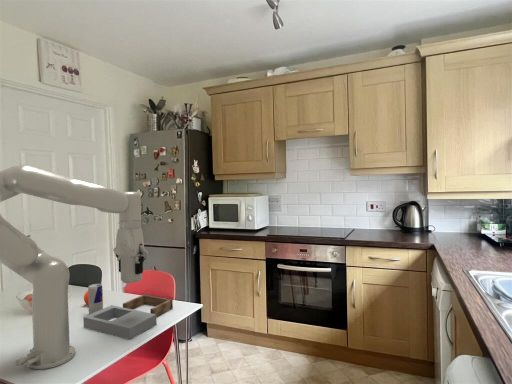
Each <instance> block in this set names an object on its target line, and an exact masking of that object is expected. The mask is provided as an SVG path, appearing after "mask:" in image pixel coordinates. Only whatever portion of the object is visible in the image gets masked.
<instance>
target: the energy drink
mask: <svg viewBox="0 0 512 384" xmlns="http://www.w3.org/2000/svg"><path fill="white" fill-rule="evenodd" d="M87 291H88V302H89V305H88V315H90V314H92V313H94V312H97V311H99V310H101V309H104V299H103V298H104V295H103V285H102V283H93V284H89V285H88V287H87Z"/></svg>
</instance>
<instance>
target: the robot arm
mask: <svg viewBox="0 0 512 384" xmlns="http://www.w3.org/2000/svg"><path fill="white" fill-rule="evenodd" d="M20 194H24V195H29V196H32V197H36V198H41V199H46V200H48V201H52V202H53V201H54V202H57V203H60V204H66V205H72V206H83V207H88V208H93V209H96V210H98V211H100V212H102V213H107V214H110V213H111V214H118V217H119V218H118V219H119V222H118V225H119V227H118V228H117V232H116V238H115V247H114V248H113V253H114V254H115V255H114V256H115V257H116V258H117V259H116V260H117V262H118V273H121V254H127V255H128V256H129V257H135V260H136V264H135V274H140V273H142V274H143V272H144V262H145V260H146V259H147V257H148V255H149V251H148V250H147V249H146V248H145V241H144V232H143V229H142V210H141V209H142V205H141V204H142V203H141V202H142V201H141V200H142V199H141V198H142V197H141V194H140V192H138V191H120V190H117V189H114V188H109V187H107V186H102V185H100V184H99V185H98V184H95V183H92V182H87V181H84V180H81V179H78V178H74V177H71V176H67V175H63V174H60V173H57V172H54V171H51V170H47V169H43V168H40V167H37V166H33V165H28V164H20V165H14V166H11V167H9V168H6V169H3V170H1V171H0V203H2V202H4V201H6V200H9V199H11V198H13V197H15V196H17V195H20ZM138 252H139V253H140V254H138ZM138 256H140V259H139V258H138ZM0 263H1V264H2V265H4V266H5V267H7V268H8V269H9V270H11V271H12V272H14V273H15V274H17V275H19V276H20V277H21V278H23V279H24V280H26V281H27V282H29V283H31V284H32V293H31V294H32V296H31V313H32V338H33V339H32V340H33V341H32V342H33V343H32V345H33V348H30V349H29V353H28V354H27V355H26V356H24V357H23V356H22V357H21V358H18V359H17V360H16V361H15V365H16V366H17V367H18V368H20V367H22V366H23V365H26V366H28V367H29V368H30V369H34V370H45V369H51V368H54V367H57V366H60V365H63V364H65V363H67V362H69V361H70V360H72V358H74V356H75V355H76V348H75V346H73V345H71V344H70V322H69V321H70V318H69V284H70V283H69V282H70V271H69V267H68V266H67V264H66V263H65V262H64V261H63V260H61V258H57V257H55V256H52V255H49V254H48V253H47V252H46V251H44V250H43V249H41V248H40V247H39V246H38V245H37V243H36V241H34V240H33V239H32V238H31V237H29V236H27V235H26V234H24V233H23V232H22V231H20V230H18V229H17V228H16V227H15V226H13V225H12V224H11V223H10V222H9V221H7V220H6V219H5V218H4V217H3V216H2V214H1V213H0Z"/></svg>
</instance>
